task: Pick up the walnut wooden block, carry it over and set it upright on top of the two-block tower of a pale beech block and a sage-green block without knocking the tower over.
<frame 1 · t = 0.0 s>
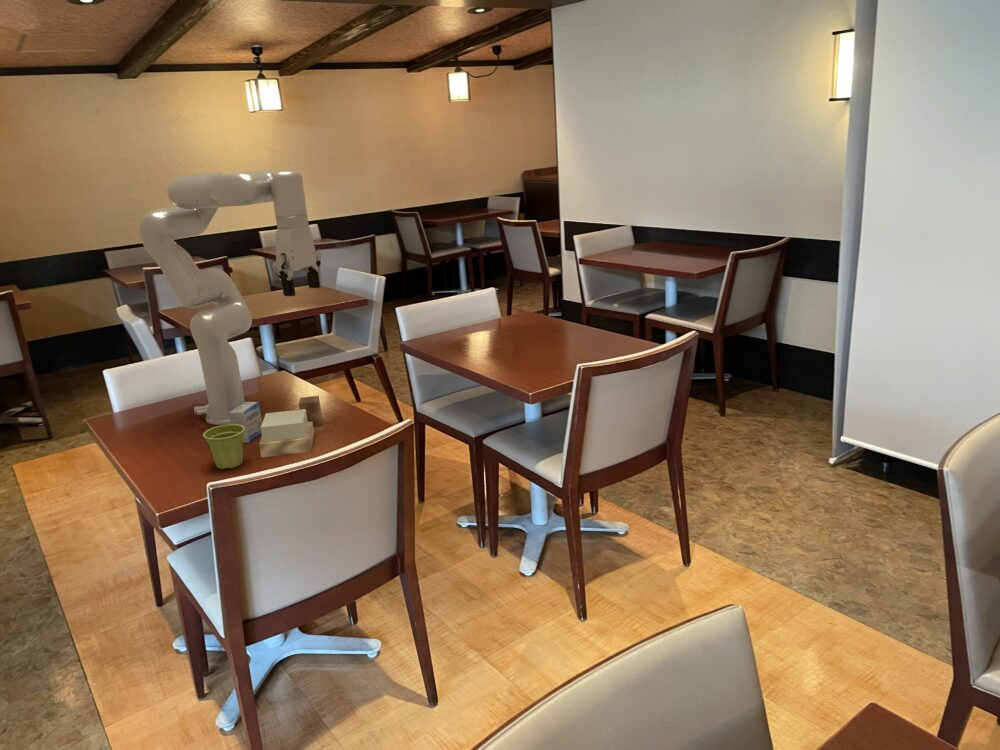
hand: (302, 291, 188), 37 cm above the table, tool pointing down, fingers open, 9 cm apart
tower top block: (286, 432, 189), point 3 cm above the table
plant pot: (230, 465, 181), on the table
medicine box: (249, 438, 197), on the table
walnut block: (312, 423, 204), on the table
tower base block: (288, 447, 190), on the table
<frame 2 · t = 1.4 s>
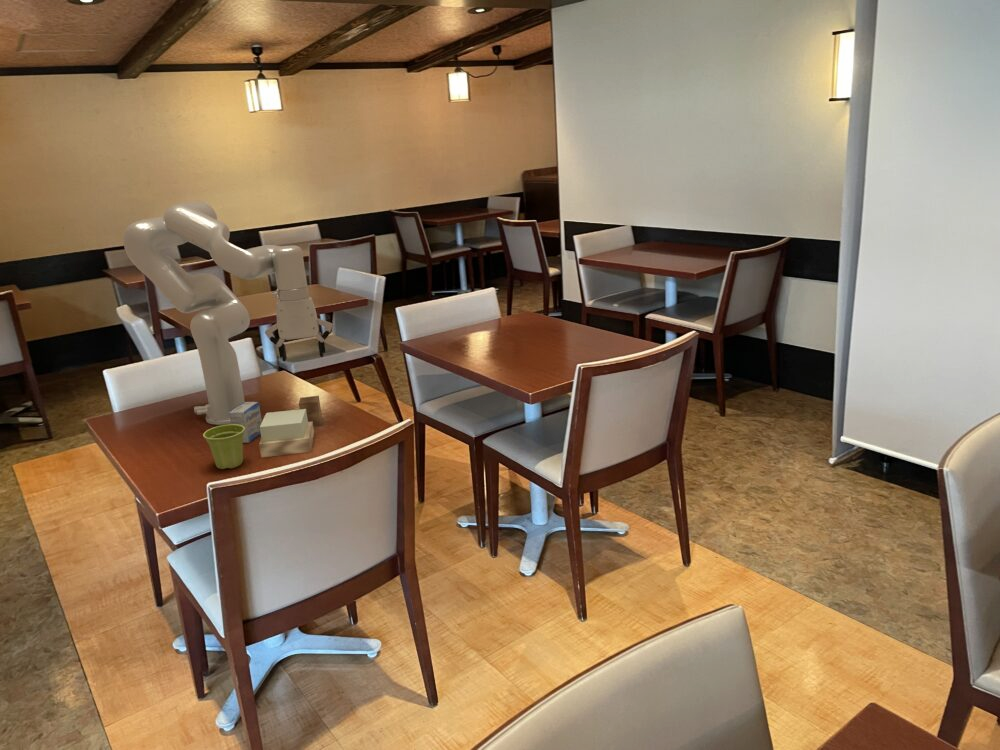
hand: (303, 357, 198), 19 cm above the table, tool pointing down, fingers open, 9 cm apart
tower top block: (285, 432, 189), point 3 cm above the table, touching tower base block
tower base block: (289, 447, 190), on the table, touching tower top block
everything else where it was.
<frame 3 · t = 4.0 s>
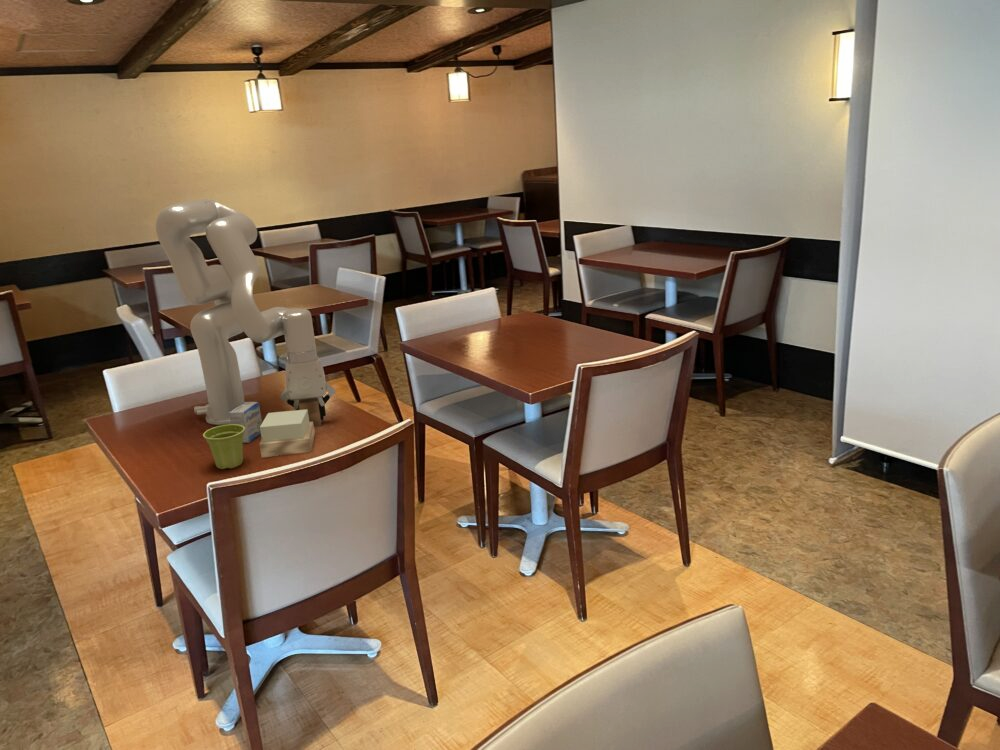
hand: (311, 419, 204), 1 cm above the table, tool pointing down, fingers closed on walnut block, 5 cm apart
walnut block: (312, 423, 204), on the table, touching gripper
everything else where it was.
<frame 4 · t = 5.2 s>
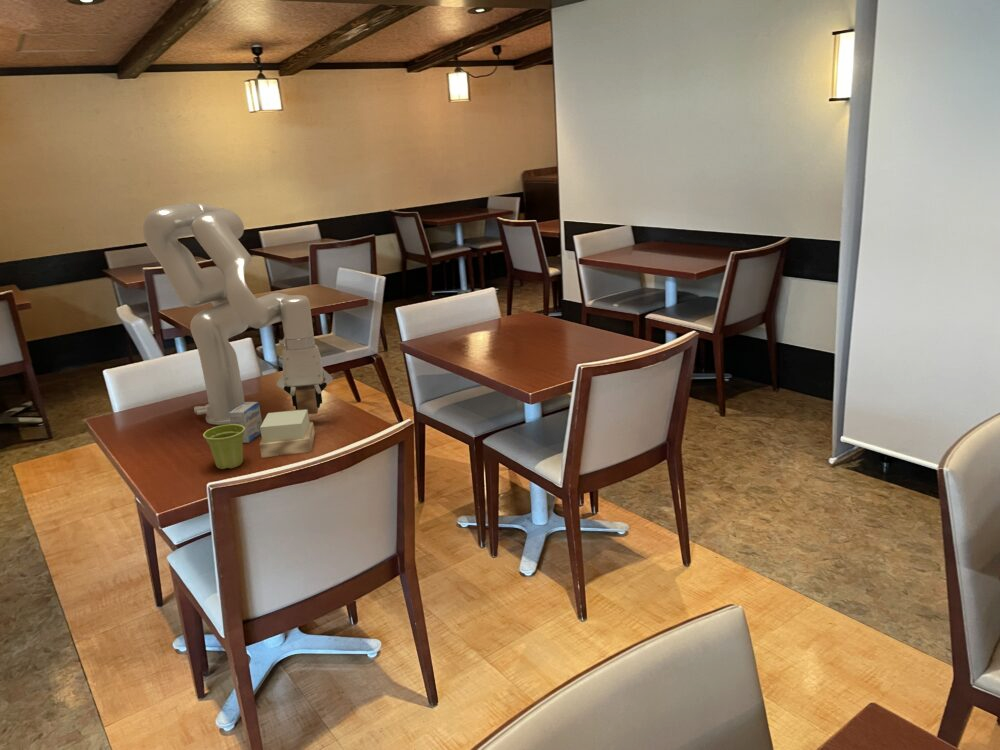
hand: (308, 406, 203), 5 cm above the table, tool pointing down, fingers closed on walnut block, 4 cm apart
walnut block: (308, 411, 203), point 4 cm above the table, touching gripper
everything else where it was.
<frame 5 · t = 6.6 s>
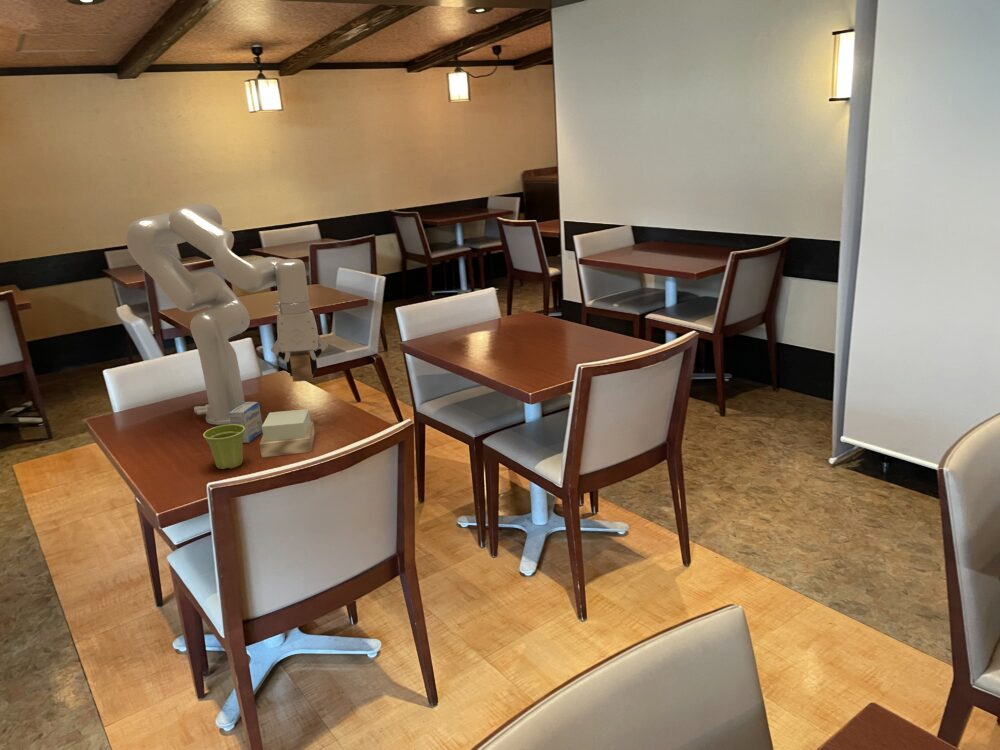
hand: (302, 373, 200), 14 cm above the table, tool pointing down, fingers closed on walnut block, 4 cm apart
walnut block: (303, 378, 200), point 13 cm above the table, touching gripper
everything else where it was.
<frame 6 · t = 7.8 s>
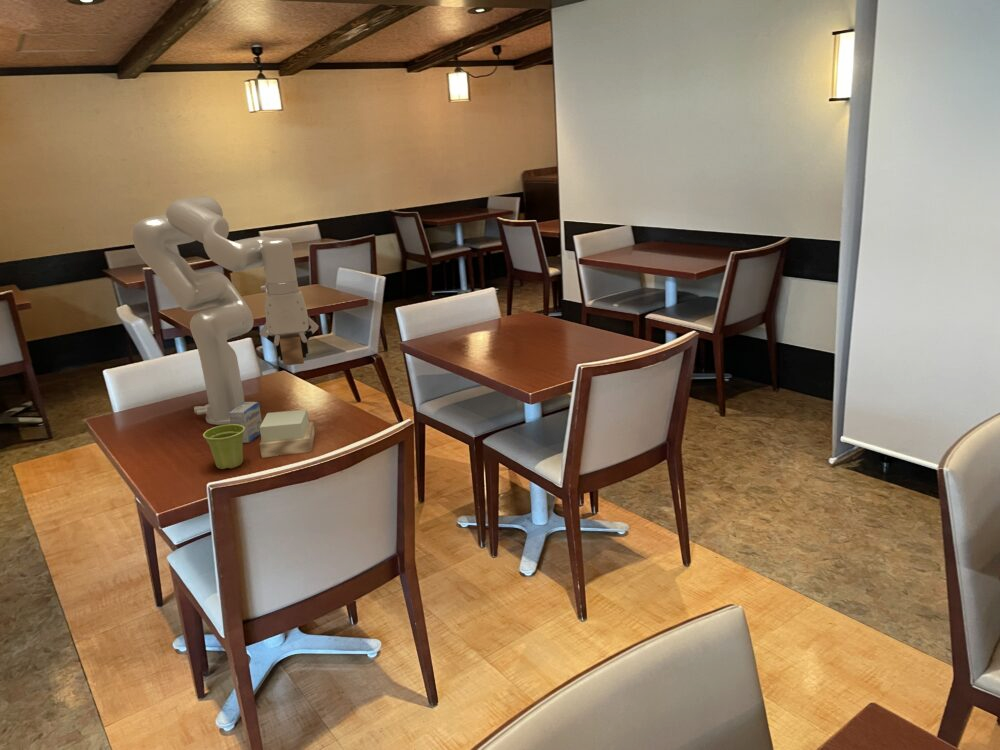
hand: (293, 357, 193), 21 cm above the table, tool pointing down, fingers closed on walnut block, 4 cm apart
walnut block: (294, 361, 193), point 19 cm above the table, touching gripper
everything else where it was.
when the fingers open (10 cm above the table, at t = 11.8 s): walnut block drops 1 cm, resting on tower top block.
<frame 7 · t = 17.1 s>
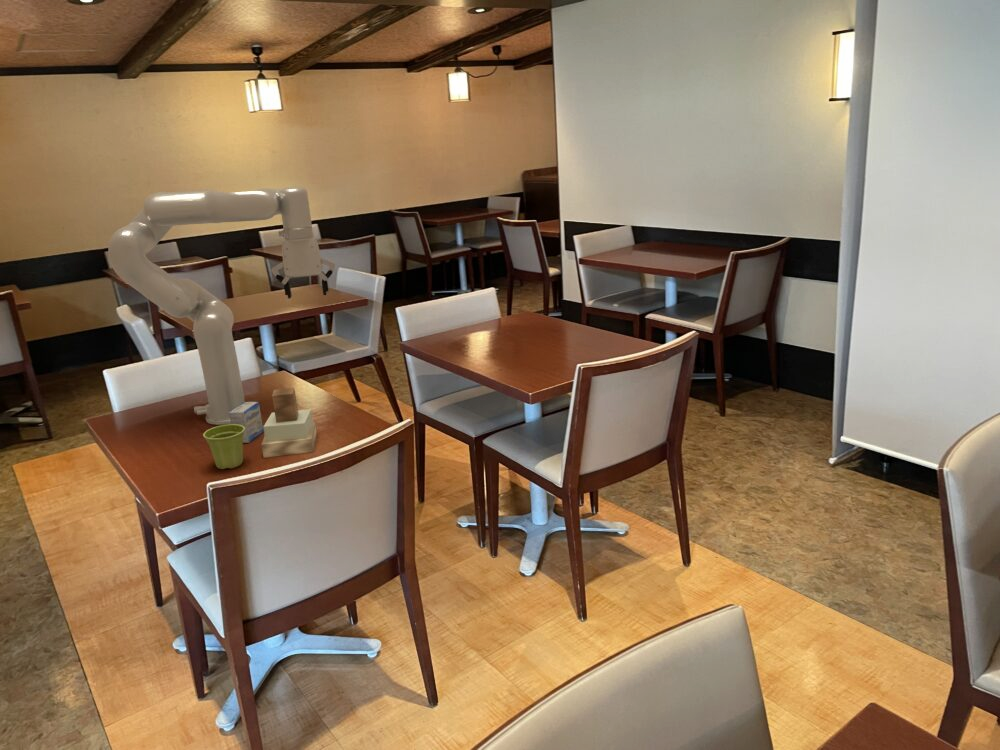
hand: (307, 295, 209), 32 cm above the table, tool pointing down, fingers open, 9 cm apart
tower top block: (290, 432, 189), point 3 cm above the table, touching tower base block, walnut block
walnut block: (287, 418, 188), point 7 cm above the table, touching tower top block
everything else where it was.
at the end: walnut block inside the target area (0.9 cm from its centre), point 7.3 cm above the table; walnut block tilted 0°; tower top block moved 1.1 cm from its start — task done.
